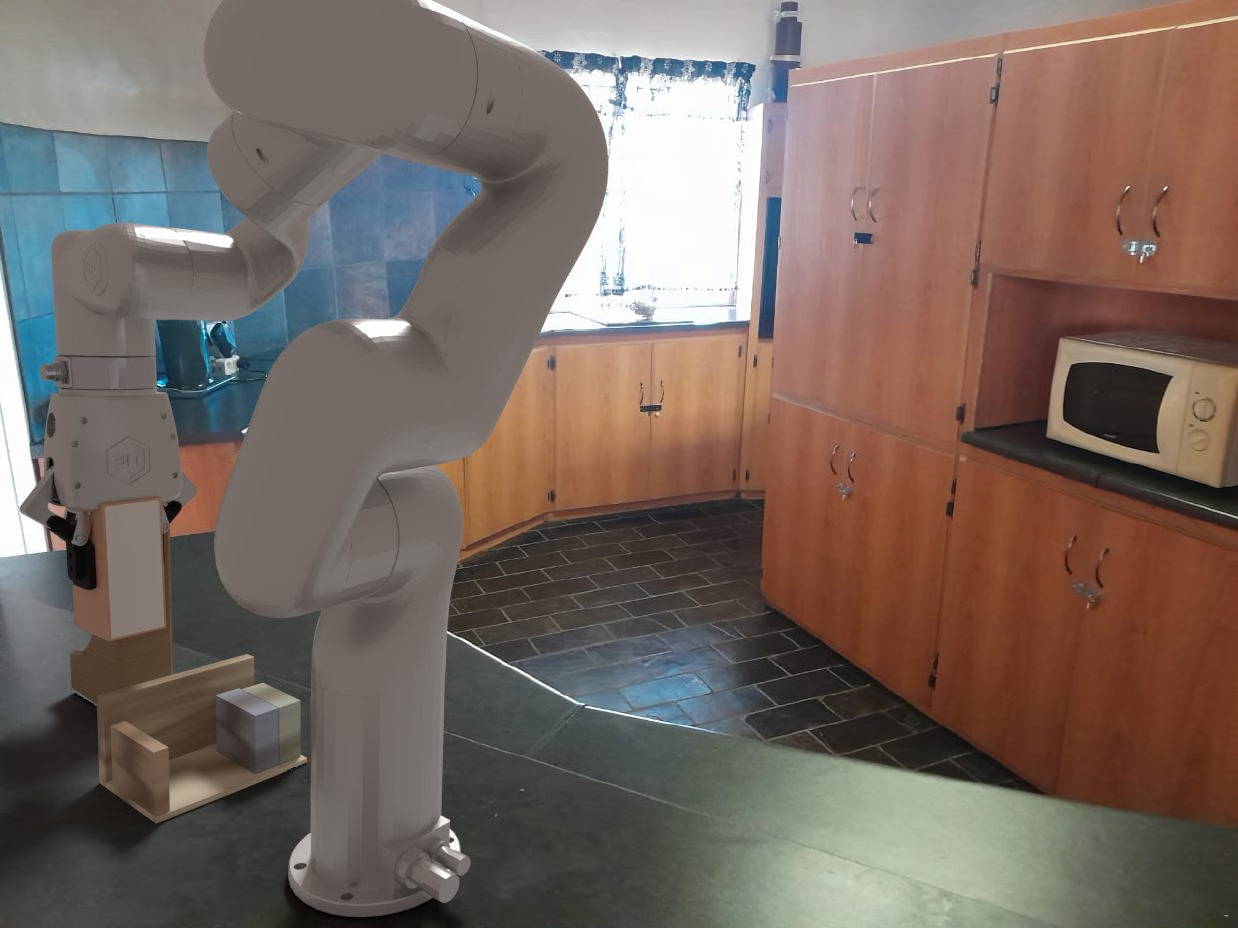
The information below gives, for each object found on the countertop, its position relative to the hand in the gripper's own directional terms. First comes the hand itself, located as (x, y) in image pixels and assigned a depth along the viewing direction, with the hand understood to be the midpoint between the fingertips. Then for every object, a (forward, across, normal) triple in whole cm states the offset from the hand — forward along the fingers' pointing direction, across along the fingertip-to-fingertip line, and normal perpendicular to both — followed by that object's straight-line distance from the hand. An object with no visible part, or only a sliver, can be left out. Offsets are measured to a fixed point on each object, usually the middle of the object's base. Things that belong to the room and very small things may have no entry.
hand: (118, 578), depth 83 cm
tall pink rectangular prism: (+5, 0, 0) cm, 5 cm away
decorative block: (+17, +5, +12) cm, 21 cm away
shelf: (+17, +3, -9) cm, 19 cm away
